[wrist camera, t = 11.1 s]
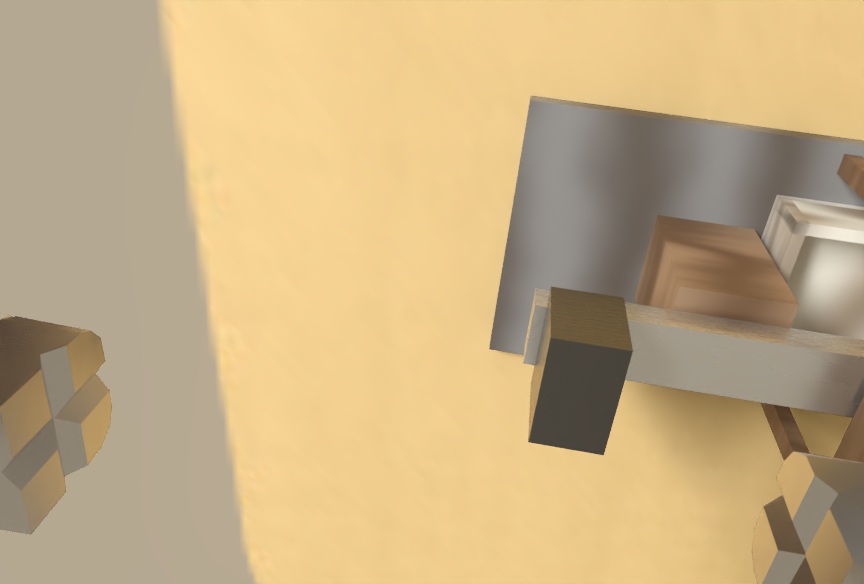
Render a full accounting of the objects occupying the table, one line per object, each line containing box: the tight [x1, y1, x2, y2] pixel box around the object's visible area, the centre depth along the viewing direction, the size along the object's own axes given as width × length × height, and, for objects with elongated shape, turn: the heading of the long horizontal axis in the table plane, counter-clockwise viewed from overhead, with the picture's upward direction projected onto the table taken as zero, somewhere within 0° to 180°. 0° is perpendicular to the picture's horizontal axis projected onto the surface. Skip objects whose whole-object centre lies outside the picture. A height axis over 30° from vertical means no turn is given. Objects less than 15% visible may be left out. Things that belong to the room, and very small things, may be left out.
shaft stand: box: [489, 96, 864, 463], centre depth 34 cm, size 24×15×14 cm, turn 84°
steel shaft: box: [524, 286, 864, 455], centre depth 29 cm, size 20×5×6 cm, turn 84°
